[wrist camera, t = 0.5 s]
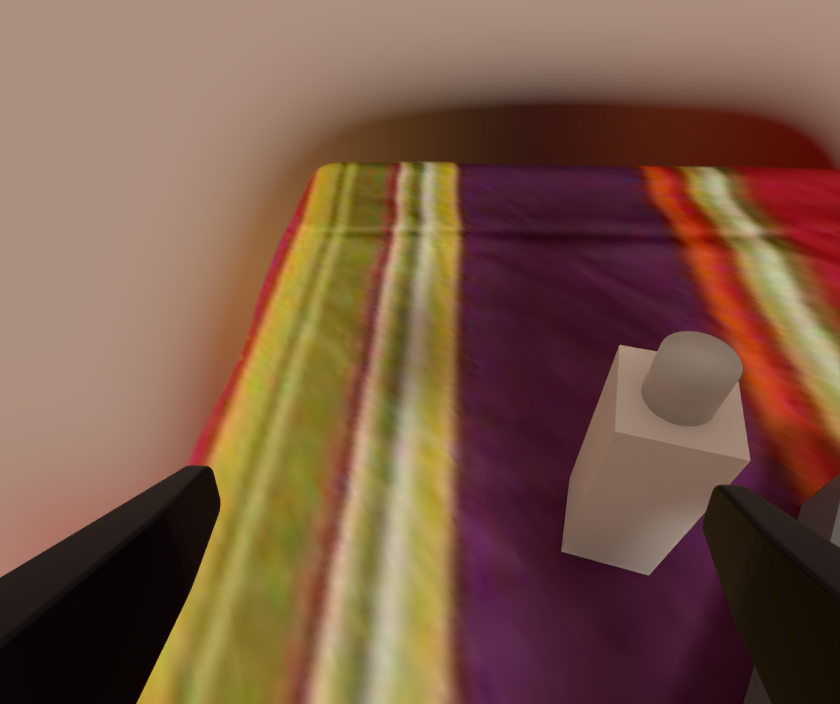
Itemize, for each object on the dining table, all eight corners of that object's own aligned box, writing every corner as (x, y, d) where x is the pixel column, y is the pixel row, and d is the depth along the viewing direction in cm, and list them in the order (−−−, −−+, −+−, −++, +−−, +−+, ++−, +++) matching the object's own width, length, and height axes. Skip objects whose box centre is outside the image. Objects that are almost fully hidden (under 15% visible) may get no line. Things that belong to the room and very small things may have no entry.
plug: (649, 575, 23) (782, 424, 14) (561, 551, 24) (631, 394, 15) (648, 497, 26) (762, 326, 16) (569, 478, 27) (634, 306, 17)
